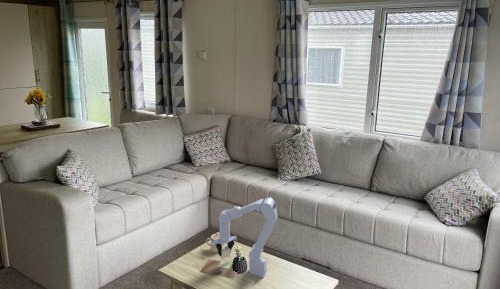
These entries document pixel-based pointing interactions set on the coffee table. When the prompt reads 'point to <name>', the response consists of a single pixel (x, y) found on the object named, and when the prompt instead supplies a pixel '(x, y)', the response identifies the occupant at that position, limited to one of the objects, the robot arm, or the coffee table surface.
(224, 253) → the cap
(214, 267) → the board
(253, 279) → the coffee table surface
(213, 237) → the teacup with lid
